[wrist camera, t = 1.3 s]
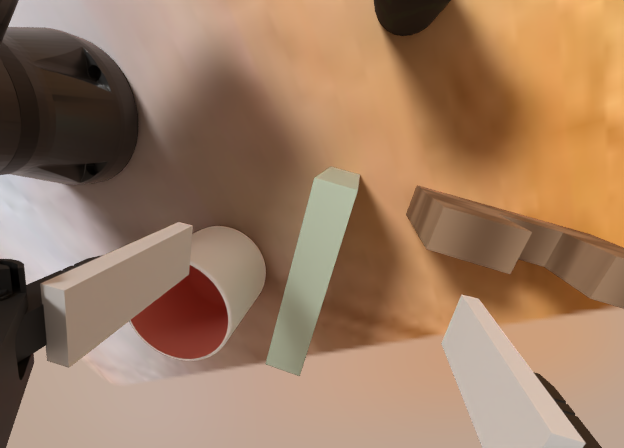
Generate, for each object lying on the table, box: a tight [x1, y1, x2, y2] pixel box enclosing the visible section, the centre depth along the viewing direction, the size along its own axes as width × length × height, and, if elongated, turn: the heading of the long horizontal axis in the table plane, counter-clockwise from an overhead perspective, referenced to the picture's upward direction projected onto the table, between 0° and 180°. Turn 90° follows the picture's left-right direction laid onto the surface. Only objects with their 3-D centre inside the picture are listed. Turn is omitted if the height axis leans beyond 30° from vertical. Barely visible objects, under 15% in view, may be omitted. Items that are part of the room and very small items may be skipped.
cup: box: [129, 226, 266, 361], centre depth 29 cm, size 10×10×10 cm
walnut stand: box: [406, 186, 624, 309], centre depth 23 cm, size 16×3×10 cm, turn 75°
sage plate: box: [266, 167, 360, 376], centre depth 27 cm, size 16×3×10 cm, turn 165°
